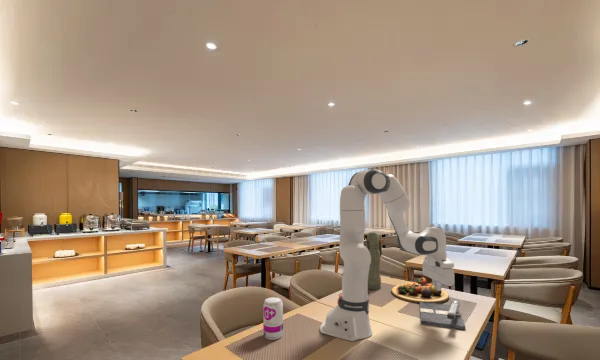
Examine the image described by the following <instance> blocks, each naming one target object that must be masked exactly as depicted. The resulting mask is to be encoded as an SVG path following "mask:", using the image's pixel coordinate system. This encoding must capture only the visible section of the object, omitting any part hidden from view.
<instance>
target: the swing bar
mask: <svg viewBox="0 0 600 360" xmlns="http://www.w3.org/2000/svg"><path fill="white" fill-rule="evenodd" d="M450 305H451V307H450V310H449V312H448V314H447V318H448V319H453V320H455V315H456V312H457V308H458V307H459V308H461V301H459V300H457V299H456V300H455V299H452V300H450Z"/></svg>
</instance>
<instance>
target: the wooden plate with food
mask: <svg viewBox="0 0 600 360" xmlns="http://www.w3.org/2000/svg"><path fill="white" fill-rule="evenodd" d="M391 294H392V296H394V297H395V298H396V299H398V300H402V301H405V302H409V303H413V304H419V305H420V302H427V303H436V304H444V303H445V302H447V301H449V299H450V295H449V293H448V292H447V291H446V290H444V289H442V288H441V291H438V290H436V289H434V284H433V283H427V280H426V278H425V277H420V278H419V277H418V278H417V282H413V281H409V282H407V283H403V284H398V285H395V286H393V287H392V288H391Z"/></svg>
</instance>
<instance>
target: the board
mask: <svg viewBox="0 0 600 360" xmlns="http://www.w3.org/2000/svg"><path fill="white" fill-rule="evenodd" d="M450 307H451V304H444V303H440V304H436V303H427V302H420V304H419V312H420V314H419V315H420V323H421V325H425V326H433V327H440V328H447V329H448V328H449V329H454V330H455V329H456V330H461V331H466V325H465V322H464V320H463V317H462V315H463V313H462V312H461V311H460V307H458V308H457V312H456V315H455V320H453V319H448V318H447V314H448V312H449V310H450Z"/></svg>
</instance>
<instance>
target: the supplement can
mask: <svg viewBox="0 0 600 360" xmlns="http://www.w3.org/2000/svg"><path fill="white" fill-rule="evenodd" d="M262 311H263V316H262V317H263V321H262V322H263V337H264V338H265V339H266V340H270V341H274V340H279V339H281V338H282V336H283V335H284V312H283V311H284V302H283V300H282V298H281V297H277V296H271V297H268V298H267V297H266V298H265V300H264V302H263V310H262Z"/></svg>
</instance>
